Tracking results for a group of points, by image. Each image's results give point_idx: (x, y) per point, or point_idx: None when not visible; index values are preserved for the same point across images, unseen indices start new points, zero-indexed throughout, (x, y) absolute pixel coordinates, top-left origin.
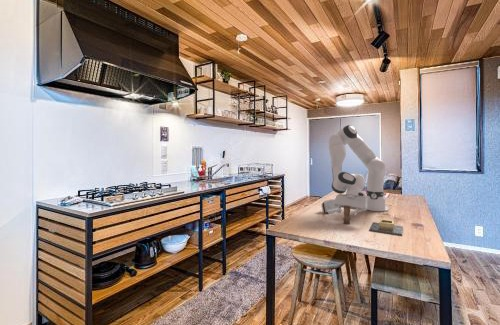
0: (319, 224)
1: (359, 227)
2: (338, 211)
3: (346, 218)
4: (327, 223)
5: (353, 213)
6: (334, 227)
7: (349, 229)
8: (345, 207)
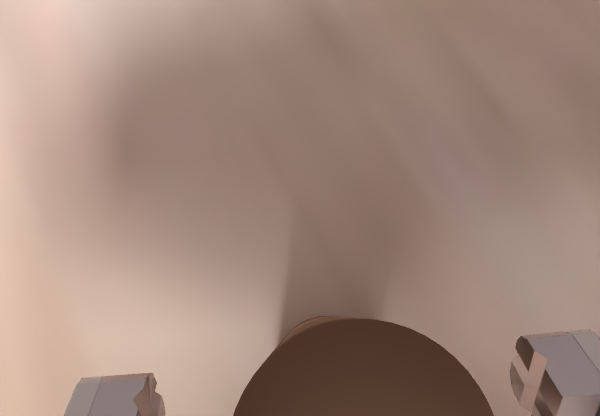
0: (570, 11)
1: (77, 315)
2: (565, 333)
3: (308, 321)
4: (532, 137)
5: (124, 381)
6: (344, 42)
7: (150, 111)
8: (360, 320)
